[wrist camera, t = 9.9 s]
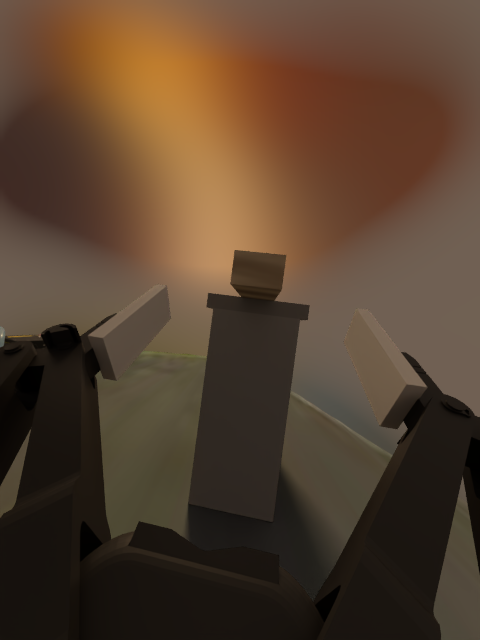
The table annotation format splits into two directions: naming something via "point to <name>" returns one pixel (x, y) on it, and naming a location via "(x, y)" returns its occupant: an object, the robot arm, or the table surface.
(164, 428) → the table surface
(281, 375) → the grey stand
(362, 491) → the table surface
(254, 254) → the birch strip
